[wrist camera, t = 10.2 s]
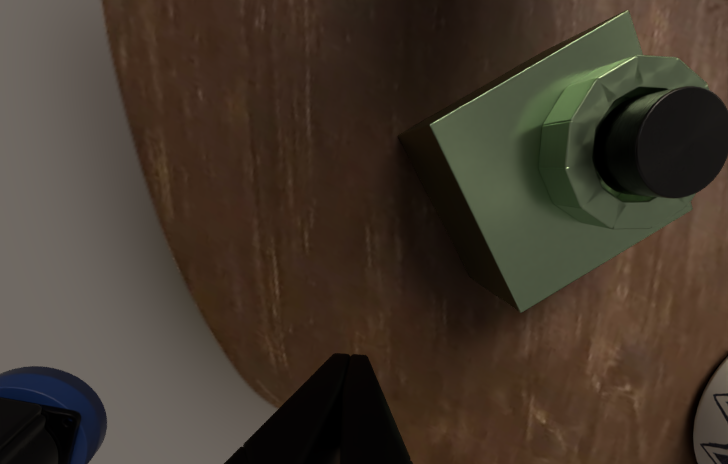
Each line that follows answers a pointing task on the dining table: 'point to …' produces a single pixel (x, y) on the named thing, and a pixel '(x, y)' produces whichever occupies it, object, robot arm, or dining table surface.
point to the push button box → (543, 164)
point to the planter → (713, 420)
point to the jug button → (663, 143)
